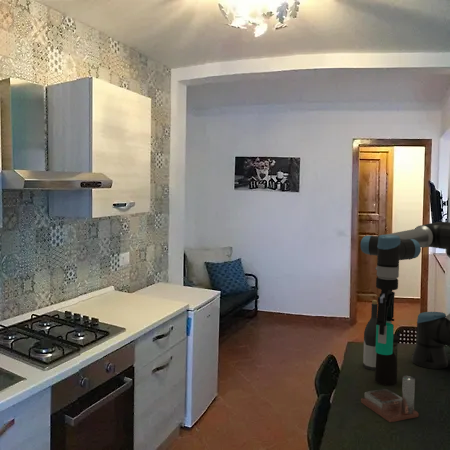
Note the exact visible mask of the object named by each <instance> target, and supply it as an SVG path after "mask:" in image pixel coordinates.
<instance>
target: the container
mask: <svg viewBox="0 0 450 450" xmlns="http://www.w3.org/2000/svg"><path fill="white" fill-rule="evenodd" d="M399 340H400V337H399V336H398V335H397V334H395V333H393V354H391V355H382V354H378V353H376V370H375V371H374V381H375V382H376V383H377V384H380V385H382V386H391V387H392V386H395V385H397V383H398V345H399V344H398V341H399Z"/></svg>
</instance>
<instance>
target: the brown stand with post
mask: <svg viewBox="0 0 450 450" xmlns="http://www.w3.org/2000/svg"><path fill="white" fill-rule="evenodd" d="M415 384H416V378H415V377H414V376H411V375H403V376H402V386H401V388H402V389H401V390H402V391H401V396H400V395H399V394H397V393H395V392H394V391H392V390H390V389H388V388H382V389H377V390H374V389H373V390H369V391H365V392H364V397H363V398H360V403H361V404H363V405H364V406H366V407H367V408H369V409H370V410H371V411H373V412H375V414H377V415H378V416H380V417H382V418H383V419H384V420H385V421H387V422H389V423H394V422H400V421H404V420H409V419H414V418H418V417H419V414H420V413H419V412H418V411H416V410H415V387H416V385H415Z"/></svg>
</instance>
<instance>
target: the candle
mask: <svg viewBox="0 0 450 450" xmlns="http://www.w3.org/2000/svg"><path fill="white" fill-rule="evenodd" d="M386 326H387V335H386V344H383V343H378V329H379V325H376V348H375V351H376V353H378V354H382V355H391V354H393V334H394V331H395V328H394V327H395V325H394V324H393V323H392V324H391V323H386Z"/></svg>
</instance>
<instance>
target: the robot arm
mask: <svg viewBox="0 0 450 450" xmlns="http://www.w3.org/2000/svg"><path fill="white" fill-rule="evenodd" d="M422 248H435V249H441V250H446V256H447V257H448V258H449V259H450V222H449V221H437V222H432V223H425V224H421V225H418V226H416V227H415V228H413V229H412V228H411V229H409V230H403V231H397V232H391V233H386V234H379V235H365V236H363V237H362V239H360V250H361V252H362V253H364V254H366V255H370V256H377V257H376V258H377V260H376V261H377V262H376V267H375V268H374V269H375V270H376V278H375V280H376V281H375V288H377V289H378V290H381V291H380V293H379V295H378V297H377V304H378V307H377V323H376V325H379V329H378V343H383V344H386V335H387V326H386V323H391V324H393V322H395V318H394V317H395V315H394V314H395V312H394V310H395V309H394V308H395V296H396V295H395V294H396V293H395V291H397V290H398V288H399V279H398V278H399V277H400V273H399V272H400V271H399V270H400V261H405V260H414V259H416V258H418V257H419V255H421V251H422ZM416 320H417V321H416V344H415V347H414V350H413V353H412V355H411V362H412V363H413V364H415V365H416V366H419V367H422V368H425V369H426V368H427V369H432V370H435V369H436V370H441V369H446V368H447V367H448V366H449V359H448V357H447V353H446V350H445V346H446V347H450V313H448V314H446V313H445V312H441V311H425V312H424V311H423V312H420V313H419V314H418V315H417V319H416Z"/></svg>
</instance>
